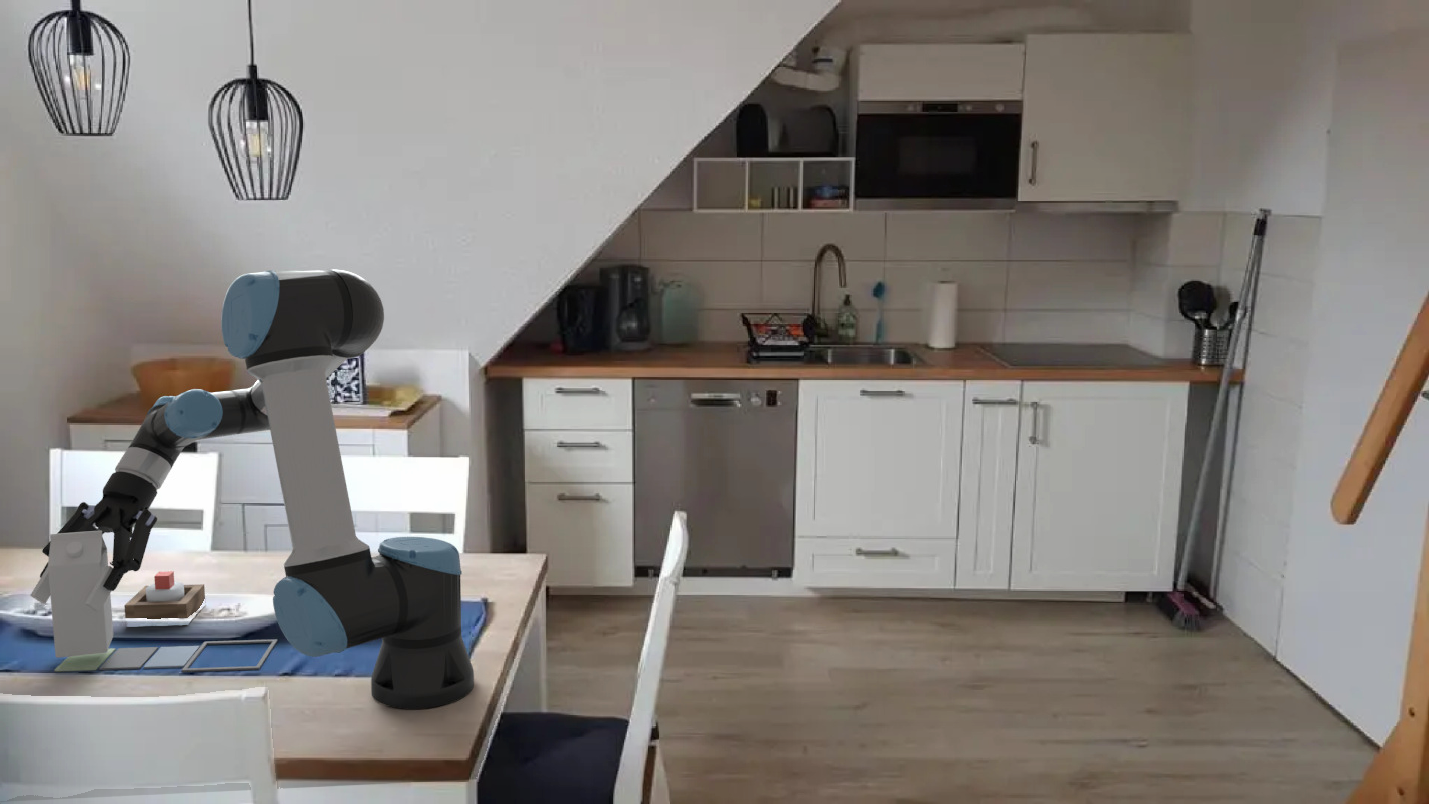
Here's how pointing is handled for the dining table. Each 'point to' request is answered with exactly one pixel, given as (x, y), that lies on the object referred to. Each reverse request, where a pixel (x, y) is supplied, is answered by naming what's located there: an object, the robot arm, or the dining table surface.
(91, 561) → the milk carton
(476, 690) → the dining table surface
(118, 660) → the track
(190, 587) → the wooden square tray
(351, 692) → the dining table surface
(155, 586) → the red white stacked block
